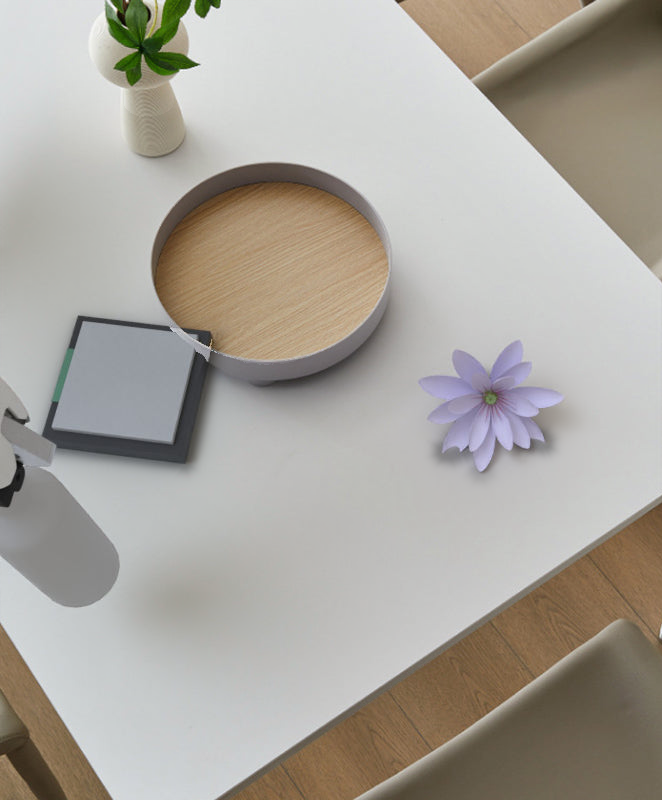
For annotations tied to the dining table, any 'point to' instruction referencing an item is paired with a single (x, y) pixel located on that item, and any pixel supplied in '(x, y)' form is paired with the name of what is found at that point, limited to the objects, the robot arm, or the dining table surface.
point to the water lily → (488, 403)
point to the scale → (128, 390)
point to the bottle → (56, 542)
